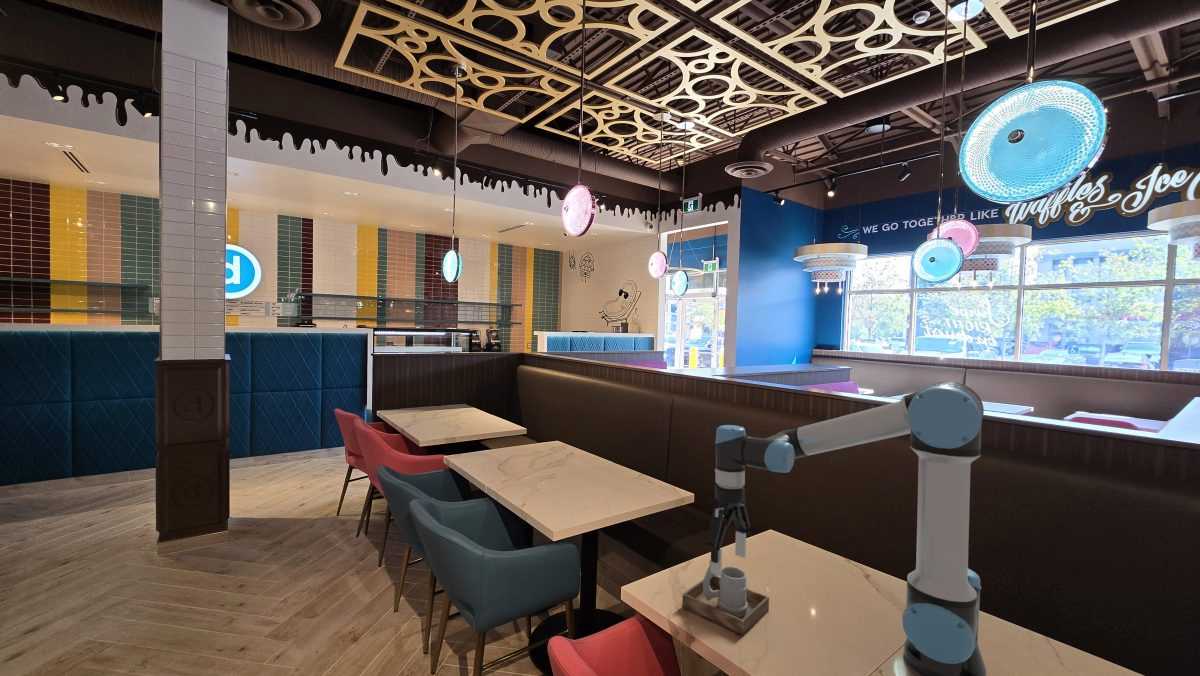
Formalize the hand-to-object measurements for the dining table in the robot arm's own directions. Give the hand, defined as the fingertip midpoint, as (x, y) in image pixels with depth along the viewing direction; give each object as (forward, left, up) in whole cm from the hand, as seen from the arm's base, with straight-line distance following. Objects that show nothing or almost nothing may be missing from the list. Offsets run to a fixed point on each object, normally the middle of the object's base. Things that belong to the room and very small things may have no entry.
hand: (728, 564), depth 129 cm
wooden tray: (0, 0, -12) cm, 12 cm away
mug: (0, +1, -12) cm, 12 cm away
